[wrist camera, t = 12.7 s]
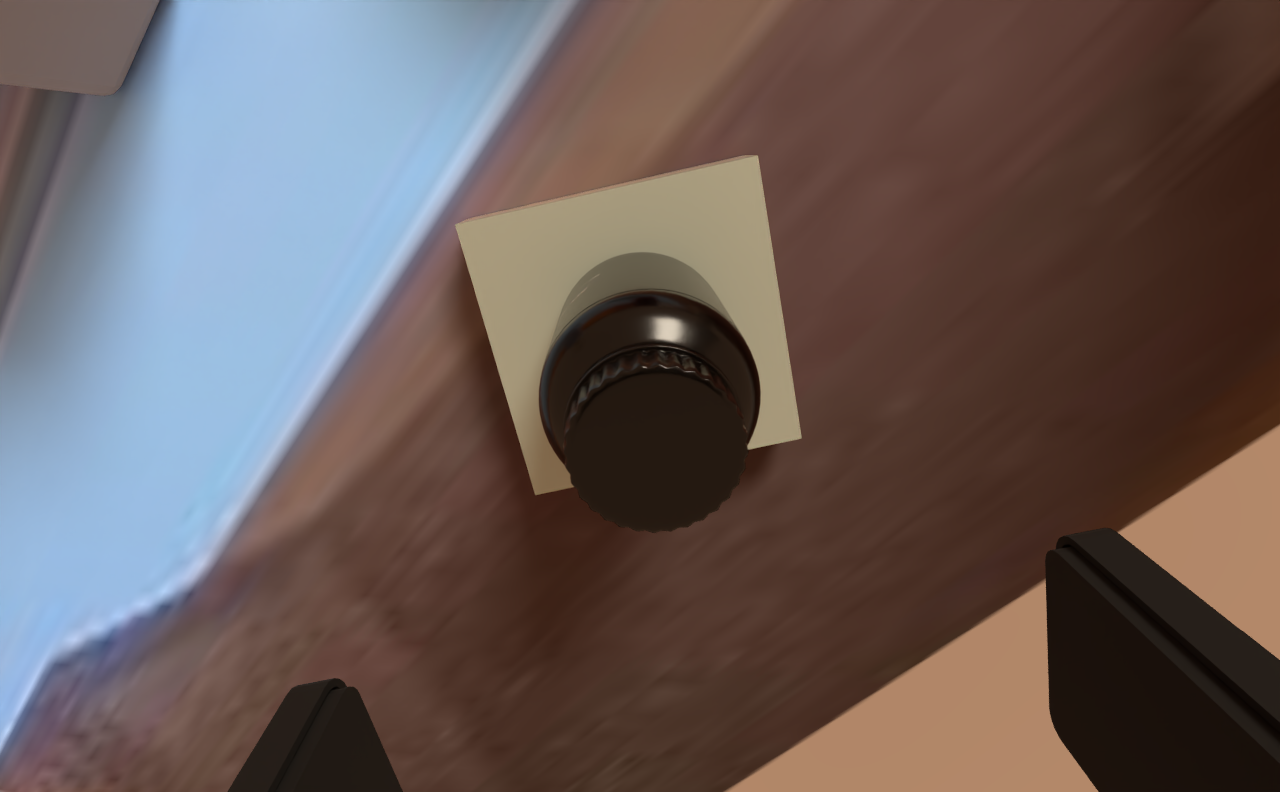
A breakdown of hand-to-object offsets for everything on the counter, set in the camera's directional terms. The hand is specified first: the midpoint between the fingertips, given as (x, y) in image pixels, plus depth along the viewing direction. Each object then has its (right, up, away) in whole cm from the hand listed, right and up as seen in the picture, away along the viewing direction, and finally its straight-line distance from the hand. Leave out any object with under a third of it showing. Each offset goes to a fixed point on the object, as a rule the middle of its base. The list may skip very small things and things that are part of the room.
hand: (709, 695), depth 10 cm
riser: (-1, +7, +23) cm, 24 cm away
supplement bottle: (-1, +7, +20) cm, 21 cm away
